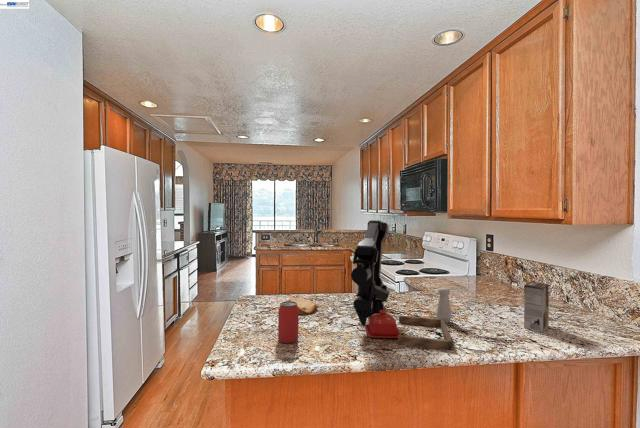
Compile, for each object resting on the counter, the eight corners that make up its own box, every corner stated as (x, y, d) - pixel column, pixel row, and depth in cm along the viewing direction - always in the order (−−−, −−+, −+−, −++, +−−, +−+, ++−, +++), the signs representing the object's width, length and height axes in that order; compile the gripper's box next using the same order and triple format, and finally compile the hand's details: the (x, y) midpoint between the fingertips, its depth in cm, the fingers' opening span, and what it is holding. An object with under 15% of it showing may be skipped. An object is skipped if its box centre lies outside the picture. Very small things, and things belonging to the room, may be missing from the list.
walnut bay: (398, 344, 101) (398, 336, 101) (399, 321, 123) (399, 315, 123) (452, 350, 97) (452, 342, 97) (443, 325, 119) (443, 319, 119)
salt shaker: (453, 324, 121) (453, 290, 121) (437, 323, 122) (437, 289, 122) (449, 319, 126) (450, 286, 126) (434, 318, 127) (435, 286, 127)
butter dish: (403, 341, 104) (403, 315, 104) (368, 340, 104) (368, 314, 104) (395, 328, 116) (395, 305, 116) (364, 328, 116) (364, 305, 116)
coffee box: (529, 322, 124) (529, 281, 124) (549, 326, 119) (549, 284, 119) (523, 327, 118) (523, 284, 118) (544, 332, 113) (544, 287, 113)
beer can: (278, 336, 107) (279, 300, 107) (298, 335, 107) (298, 300, 107) (277, 344, 100) (278, 306, 100) (298, 343, 100) (298, 306, 101)
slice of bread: (291, 301, 152) (291, 293, 152) (326, 305, 145) (326, 297, 145) (272, 311, 135) (272, 302, 135) (310, 317, 128) (310, 308, 128)
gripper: (386, 285, 104) (386, 333, 104) (389, 275, 122) (389, 315, 122) (353, 283, 107) (352, 329, 107) (361, 273, 125) (360, 313, 125)
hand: (365, 321), depth 115 cm, fingers open, 9 cm apart
